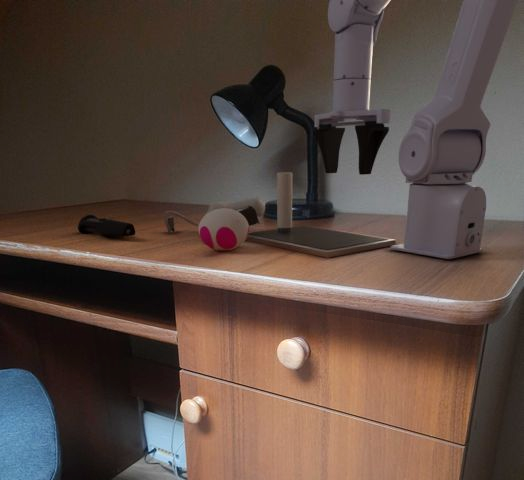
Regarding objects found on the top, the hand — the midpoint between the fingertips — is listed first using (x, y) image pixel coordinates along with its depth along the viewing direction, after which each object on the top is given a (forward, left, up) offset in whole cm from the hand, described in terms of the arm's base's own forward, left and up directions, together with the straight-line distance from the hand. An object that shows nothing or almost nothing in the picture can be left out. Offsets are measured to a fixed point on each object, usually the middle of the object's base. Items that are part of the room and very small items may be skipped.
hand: (347, 173), depth 82 cm
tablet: (-4, +11, -9) cm, 15 cm away
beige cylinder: (+3, +11, -8) cm, 14 cm away
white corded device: (+14, +18, -10) cm, 25 cm away
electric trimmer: (+24, +33, -10) cm, 42 cm away
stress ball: (0, +26, -10) cm, 27 cm away
